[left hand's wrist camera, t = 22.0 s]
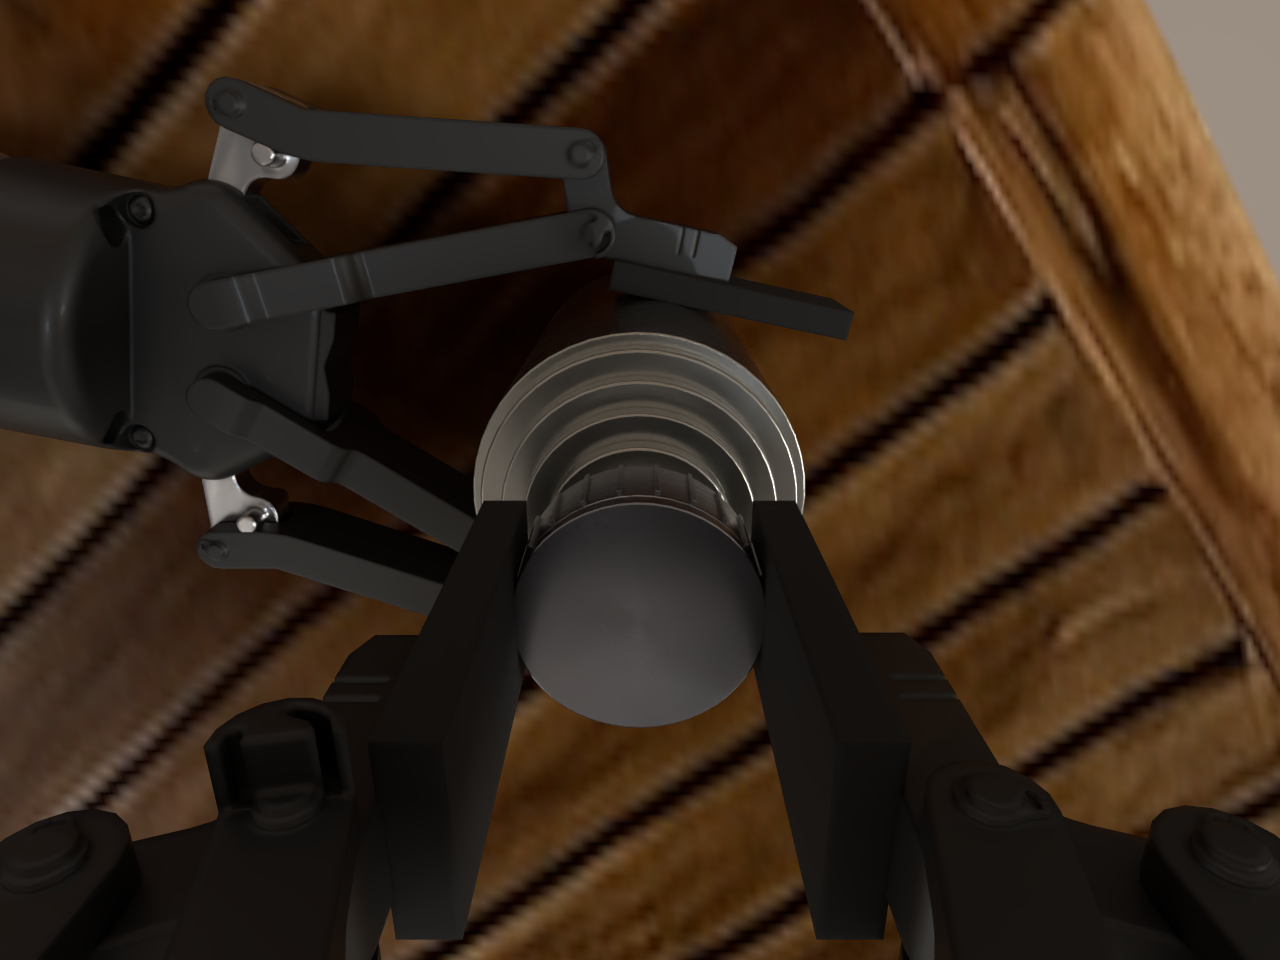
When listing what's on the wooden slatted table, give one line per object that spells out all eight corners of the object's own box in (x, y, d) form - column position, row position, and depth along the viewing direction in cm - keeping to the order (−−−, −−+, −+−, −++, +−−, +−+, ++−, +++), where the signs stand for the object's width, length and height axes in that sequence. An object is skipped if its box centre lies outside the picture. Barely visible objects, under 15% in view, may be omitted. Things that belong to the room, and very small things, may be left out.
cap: (546, 685, 15) (535, 745, 14) (500, 480, 14) (482, 519, 12) (766, 657, 15) (781, 714, 14) (743, 445, 14) (756, 481, 12)
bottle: (624, 505, 31) (608, 840, 15) (496, 357, 29) (326, 568, 13) (781, 389, 30) (942, 631, 14) (656, 224, 28) (680, 285, 12)
